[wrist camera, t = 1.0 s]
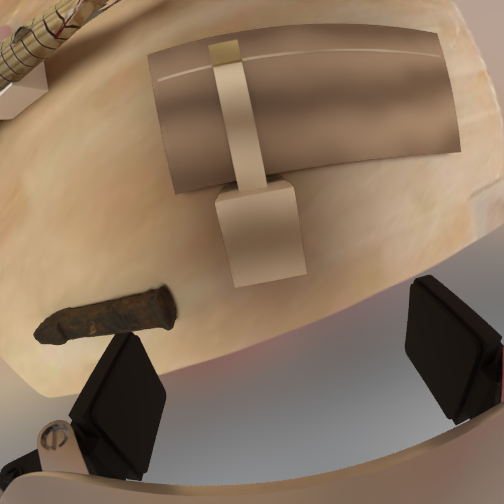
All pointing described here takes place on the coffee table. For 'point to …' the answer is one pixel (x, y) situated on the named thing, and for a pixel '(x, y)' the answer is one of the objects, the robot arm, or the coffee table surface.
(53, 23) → the wood carving
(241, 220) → the beige block with stick
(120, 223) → the coffee table surface
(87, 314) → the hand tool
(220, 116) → the board
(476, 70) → the coffee table surface
